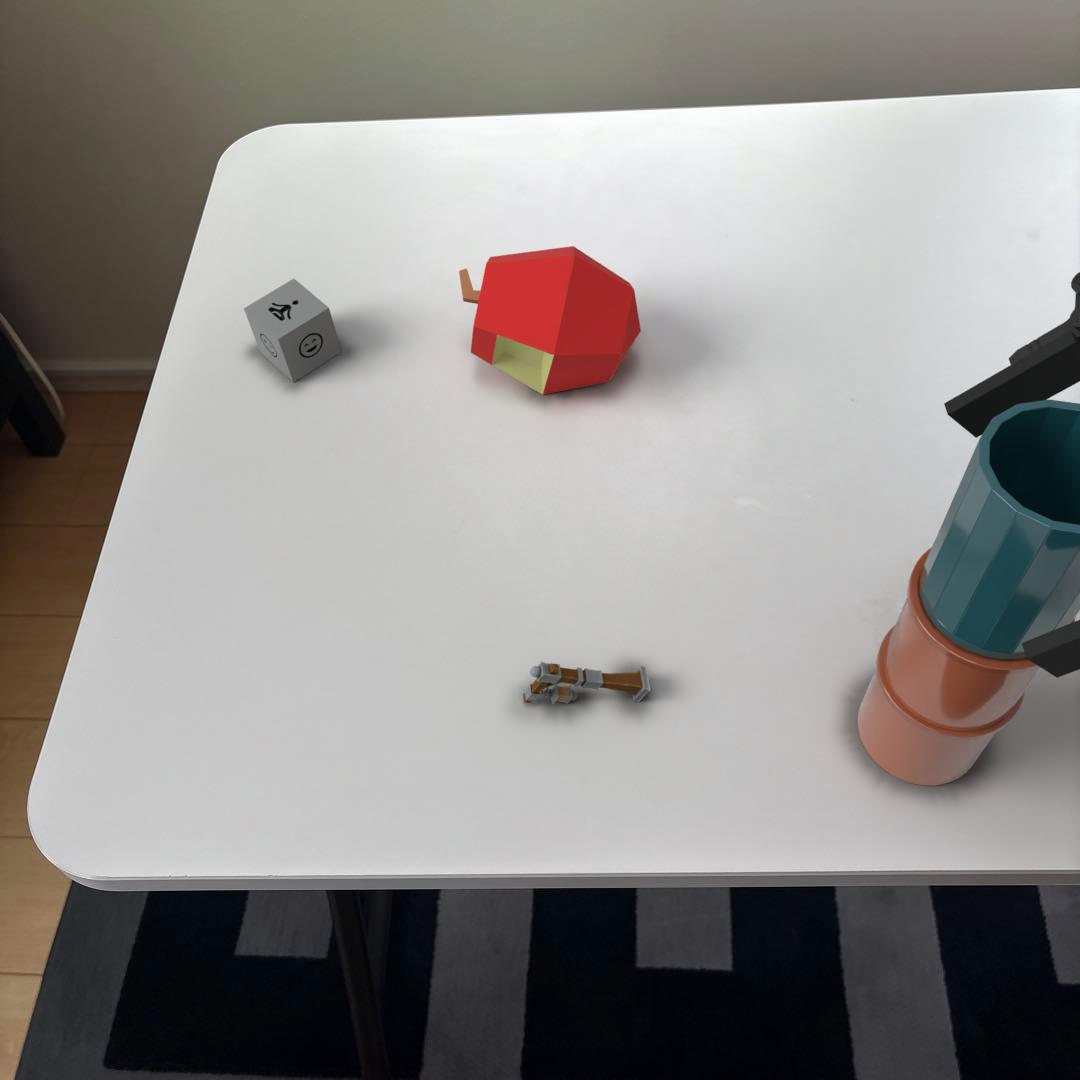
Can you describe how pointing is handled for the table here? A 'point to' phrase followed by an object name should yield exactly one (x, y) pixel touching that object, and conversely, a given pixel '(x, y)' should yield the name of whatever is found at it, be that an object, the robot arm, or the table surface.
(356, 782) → the table surface
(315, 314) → the dice cube
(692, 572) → the table surface
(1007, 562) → the cup
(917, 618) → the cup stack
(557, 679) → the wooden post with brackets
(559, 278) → the apple
